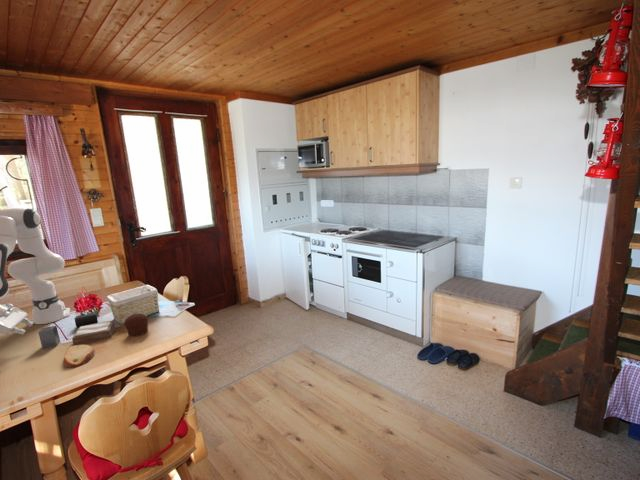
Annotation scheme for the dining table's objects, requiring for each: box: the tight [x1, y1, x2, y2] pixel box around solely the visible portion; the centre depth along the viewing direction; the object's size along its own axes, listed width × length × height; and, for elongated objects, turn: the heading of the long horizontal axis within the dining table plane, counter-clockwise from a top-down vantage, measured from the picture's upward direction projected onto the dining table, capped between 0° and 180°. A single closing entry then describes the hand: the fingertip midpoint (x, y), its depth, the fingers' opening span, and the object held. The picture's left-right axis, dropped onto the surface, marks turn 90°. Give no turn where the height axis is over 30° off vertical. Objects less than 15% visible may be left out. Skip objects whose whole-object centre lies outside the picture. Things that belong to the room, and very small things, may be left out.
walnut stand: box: [71, 319, 116, 346], centre depth 176 cm, size 14×16×5 cm
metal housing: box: [37, 325, 61, 350], centre depth 169 cm, size 5×6×9 cm
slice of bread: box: [63, 344, 95, 369], centre depth 156 cm, size 18×18×4 cm
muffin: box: [123, 313, 150, 338], centre depth 176 cm, size 12×11×10 cm
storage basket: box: [106, 284, 160, 325], centre depth 199 cm, size 24×16×15 cm
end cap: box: [74, 311, 99, 329], centre depth 190 cm, size 10×7×7 cm
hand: (28, 328), depth 164 cm, fingers open, 8 cm apart
